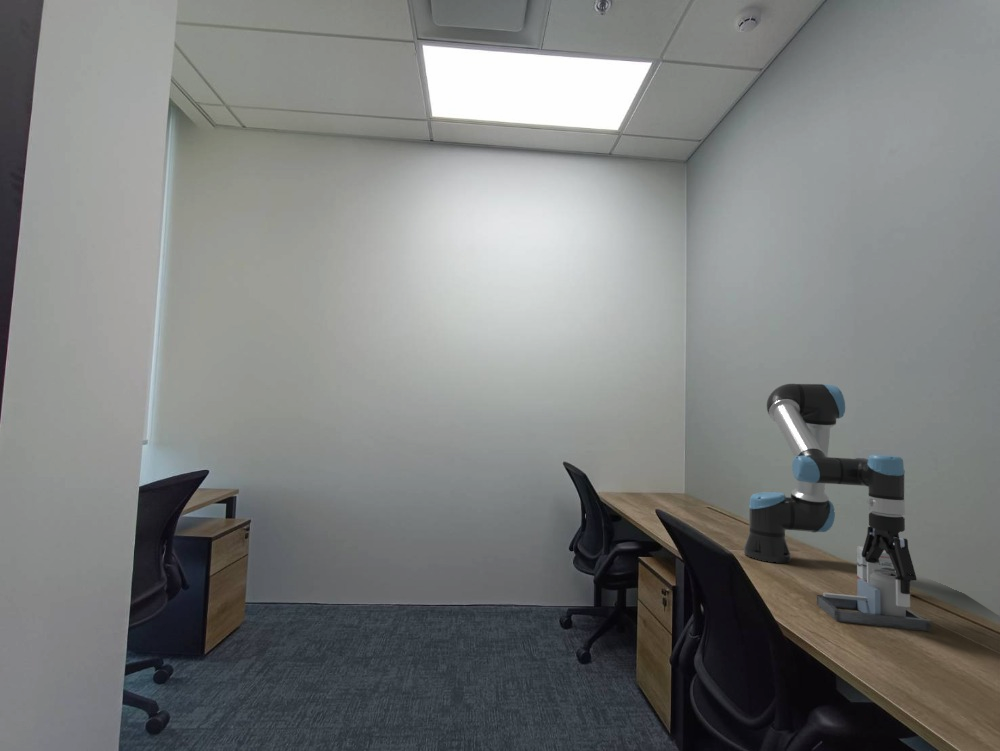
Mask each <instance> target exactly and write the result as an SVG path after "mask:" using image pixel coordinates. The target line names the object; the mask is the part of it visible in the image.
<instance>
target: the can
mask: <svg viewBox="0 0 1000 751" xmlns="http://www.w3.org/2000/svg"><path fill="white" fill-rule="evenodd" d="M872 571H873V573H871V574H870V584H871V585H872V586H874V587H875V588H877V589H879V590H880V614H881V615H891V616H900V617H906V608H907V607H902V606H897V605H896V579H895V577H897V574H896V571H895V572H894V571H890V570H884V569H873V570H872Z"/></svg>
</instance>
